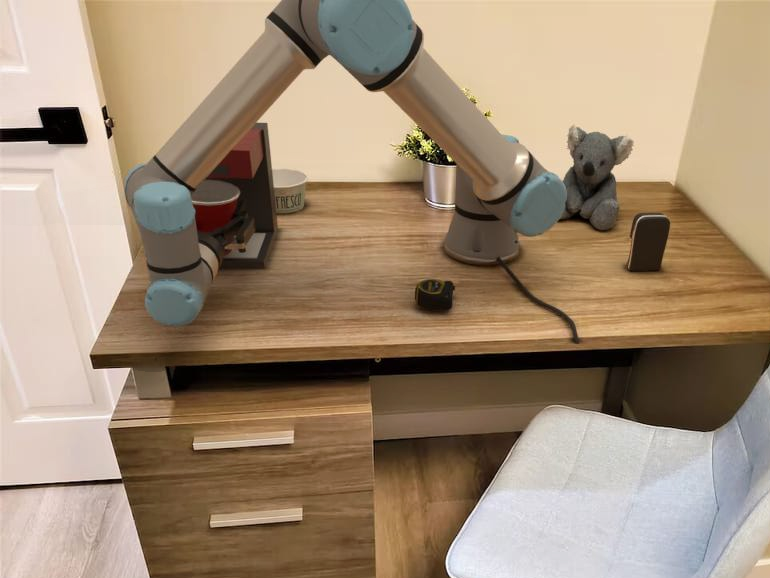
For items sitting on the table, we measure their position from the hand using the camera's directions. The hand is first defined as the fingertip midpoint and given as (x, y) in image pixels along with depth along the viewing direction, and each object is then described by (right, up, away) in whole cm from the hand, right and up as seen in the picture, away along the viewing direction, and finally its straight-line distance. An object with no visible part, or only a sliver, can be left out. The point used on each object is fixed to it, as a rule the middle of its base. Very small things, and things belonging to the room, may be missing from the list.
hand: (223, 207), depth 137 cm
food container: (+4, +6, +27) cm, 28 cm away
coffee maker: (-1, -6, +7) cm, 10 cm away
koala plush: (+72, +5, +33) cm, 80 cm away
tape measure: (+40, -19, -7) cm, 45 cm away
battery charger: (+80, -10, +11) cm, 82 cm away
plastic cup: (-1, -8, 0) cm, 8 cm away
